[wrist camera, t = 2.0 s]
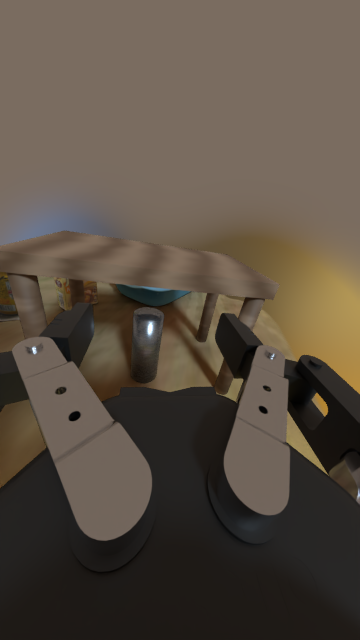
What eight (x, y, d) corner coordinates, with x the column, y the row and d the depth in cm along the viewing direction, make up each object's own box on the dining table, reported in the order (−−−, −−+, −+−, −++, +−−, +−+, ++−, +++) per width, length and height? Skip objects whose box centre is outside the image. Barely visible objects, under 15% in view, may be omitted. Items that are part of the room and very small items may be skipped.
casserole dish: (153, 318, 52) (156, 294, 49) (98, 293, 61) (97, 271, 57) (206, 289, 81) (210, 273, 78) (164, 275, 90) (166, 259, 86)
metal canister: (129, 383, 31) (132, 320, 26) (131, 364, 35) (134, 306, 29) (156, 383, 32) (165, 322, 27) (156, 364, 36) (163, 308, 30)
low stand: (33, 398, 26) (-14, 249, 17) (76, 329, 42) (64, 230, 32) (232, 396, 32) (279, 284, 23) (205, 336, 48) (227, 254, 38)
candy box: (67, 312, 47) (58, 248, 40) (58, 306, 49) (47, 244, 42) (98, 303, 54) (95, 247, 47) (89, 298, 56) (84, 243, 49)
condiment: (34, 302, 49) (23, 254, 43) (35, 317, 43) (22, 265, 38) (-5, 305, 45) (-22, 253, 39) (-9, 323, 39) (-30, 265, 34)
